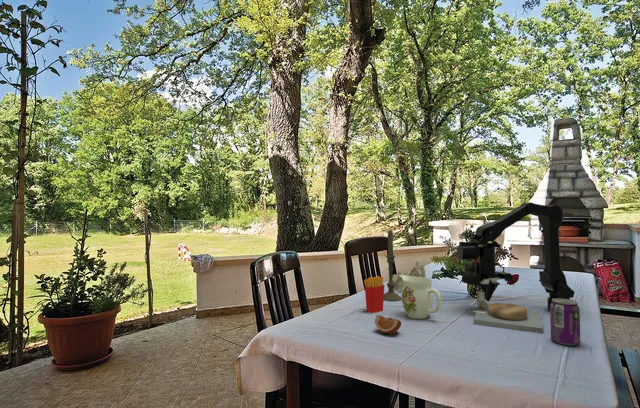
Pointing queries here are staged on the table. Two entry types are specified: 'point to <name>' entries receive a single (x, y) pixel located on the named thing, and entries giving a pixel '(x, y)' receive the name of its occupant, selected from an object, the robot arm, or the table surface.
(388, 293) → the candlestick holder
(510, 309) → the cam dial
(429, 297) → the pitcher
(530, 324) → the slate base
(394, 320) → the fruit slice
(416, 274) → the ceramic cottage
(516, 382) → the table surface
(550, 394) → the table surface
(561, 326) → the beverage can
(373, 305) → the french fries
